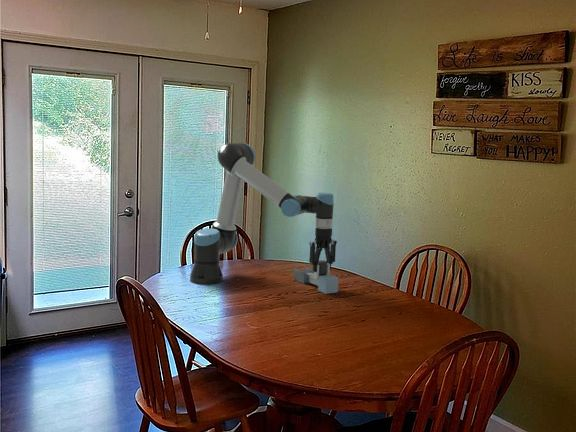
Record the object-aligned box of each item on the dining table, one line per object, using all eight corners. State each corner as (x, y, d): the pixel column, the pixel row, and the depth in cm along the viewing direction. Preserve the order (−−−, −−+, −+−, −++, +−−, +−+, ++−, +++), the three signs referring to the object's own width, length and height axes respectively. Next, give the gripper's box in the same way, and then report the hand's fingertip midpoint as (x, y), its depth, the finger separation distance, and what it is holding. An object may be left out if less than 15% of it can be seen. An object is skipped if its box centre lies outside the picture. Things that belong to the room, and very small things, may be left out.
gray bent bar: (305, 280, 277) (306, 256, 275) (311, 279, 279) (312, 255, 277) (324, 289, 263) (325, 264, 261) (331, 288, 265) (332, 263, 263)
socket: (318, 290, 265) (318, 276, 264) (330, 288, 268) (330, 274, 267) (325, 293, 260) (326, 279, 259) (337, 292, 263) (338, 277, 262)
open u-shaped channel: (294, 279, 283) (294, 268, 282) (305, 278, 286) (306, 267, 285) (303, 283, 275) (304, 272, 274) (315, 282, 278) (316, 271, 278)
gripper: (311, 230, 257) (309, 282, 260) (345, 227, 266) (342, 278, 269) (302, 227, 263) (300, 278, 267) (335, 225, 272) (333, 274, 276)
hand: (321, 278), depth 268 cm, fingers open, 5 cm apart
